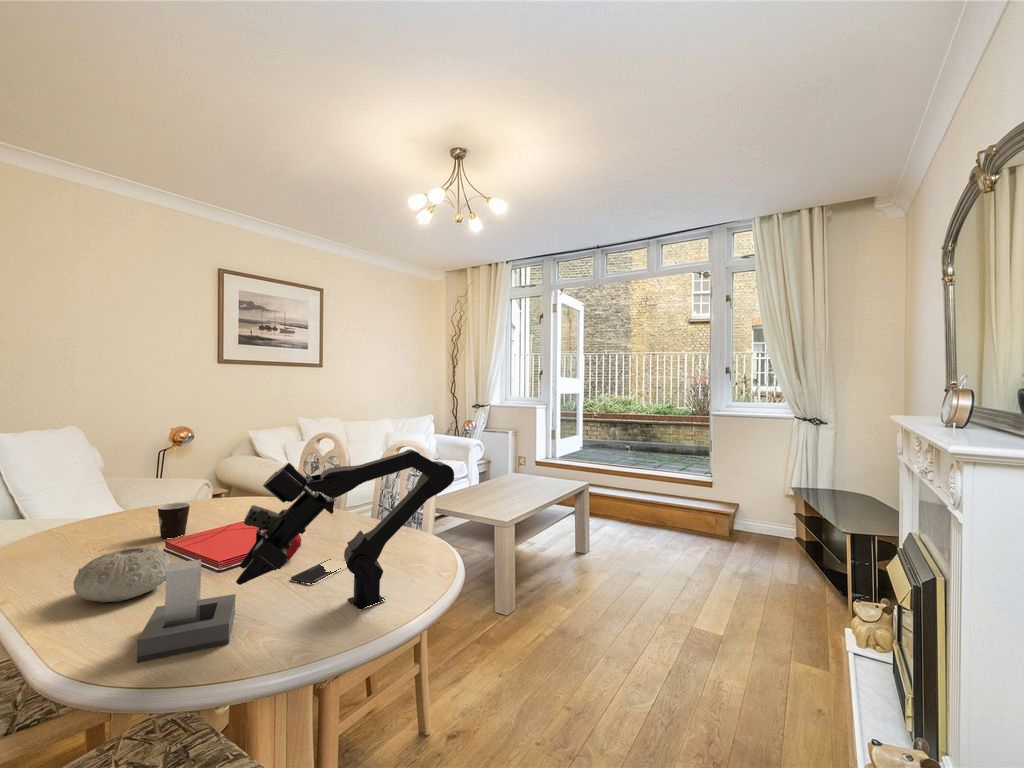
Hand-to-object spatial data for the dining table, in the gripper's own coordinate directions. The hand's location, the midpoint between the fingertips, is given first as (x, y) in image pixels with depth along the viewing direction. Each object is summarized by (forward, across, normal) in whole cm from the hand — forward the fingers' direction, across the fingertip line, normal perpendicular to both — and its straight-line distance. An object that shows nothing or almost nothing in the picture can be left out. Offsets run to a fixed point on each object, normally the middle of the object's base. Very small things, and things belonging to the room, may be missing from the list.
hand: (239, 575), depth 94 cm
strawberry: (+1, -37, +15) cm, 40 cm away
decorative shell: (+26, -29, -10) cm, 40 cm away
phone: (-5, -23, +21) cm, 31 cm away
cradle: (+13, 0, +2) cm, 13 cm away
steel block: (+13, 0, 0) cm, 13 cm away
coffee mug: (+24, -74, -9) cm, 78 cm away
